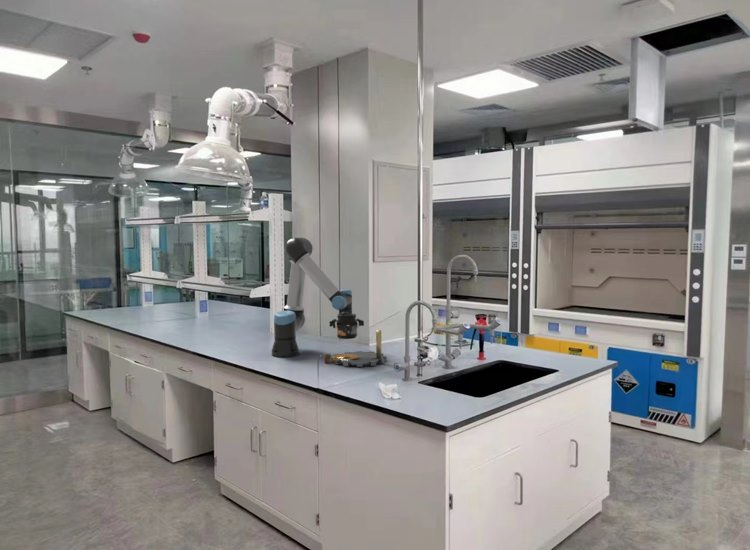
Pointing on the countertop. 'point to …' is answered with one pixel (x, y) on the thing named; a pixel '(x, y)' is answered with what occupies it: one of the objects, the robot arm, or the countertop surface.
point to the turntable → (362, 356)
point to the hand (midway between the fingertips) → (347, 326)
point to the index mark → (327, 358)
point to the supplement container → (346, 326)
